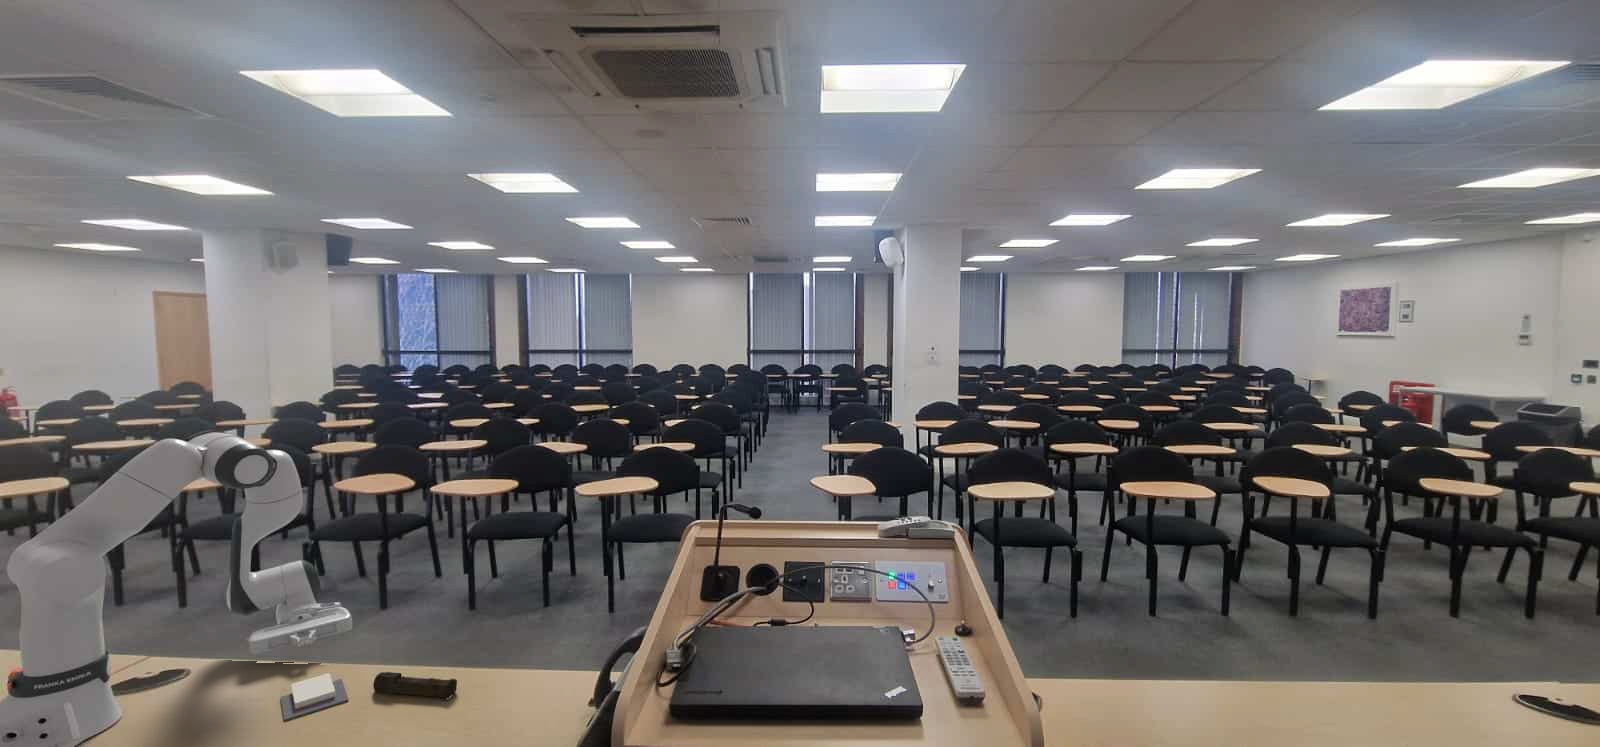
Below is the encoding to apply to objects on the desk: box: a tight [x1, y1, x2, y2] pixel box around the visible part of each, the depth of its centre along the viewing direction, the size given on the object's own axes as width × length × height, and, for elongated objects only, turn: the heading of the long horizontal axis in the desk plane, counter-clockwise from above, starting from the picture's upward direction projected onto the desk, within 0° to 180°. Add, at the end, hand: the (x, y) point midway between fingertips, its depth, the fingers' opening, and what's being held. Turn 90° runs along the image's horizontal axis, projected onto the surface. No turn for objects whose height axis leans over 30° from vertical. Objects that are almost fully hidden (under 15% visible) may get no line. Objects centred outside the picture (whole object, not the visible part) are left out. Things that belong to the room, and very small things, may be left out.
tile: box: [290, 672, 335, 709], centre depth 144 cm, size 7×2×10 cm
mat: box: [280, 678, 349, 722], centre depth 143 cm, size 11×11×1 cm
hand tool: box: [372, 671, 458, 700], centre depth 145 cm, size 19×4×5 cm, turn 81°
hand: (305, 642), depth 157 cm, fingers closed
